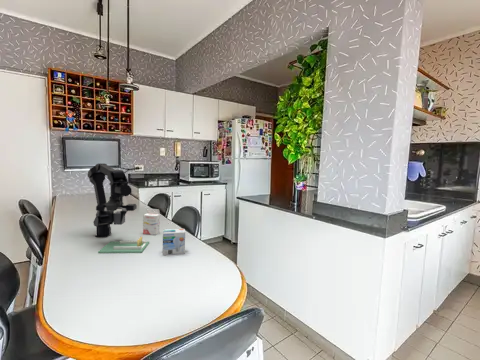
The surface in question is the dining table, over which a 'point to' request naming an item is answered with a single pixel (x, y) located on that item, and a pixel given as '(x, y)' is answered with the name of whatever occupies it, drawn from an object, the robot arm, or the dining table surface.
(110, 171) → the robot arm
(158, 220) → the ink cartridge box
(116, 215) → the block
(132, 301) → the dining table surface
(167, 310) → the dining table surface
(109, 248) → the board
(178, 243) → the light bulb box
